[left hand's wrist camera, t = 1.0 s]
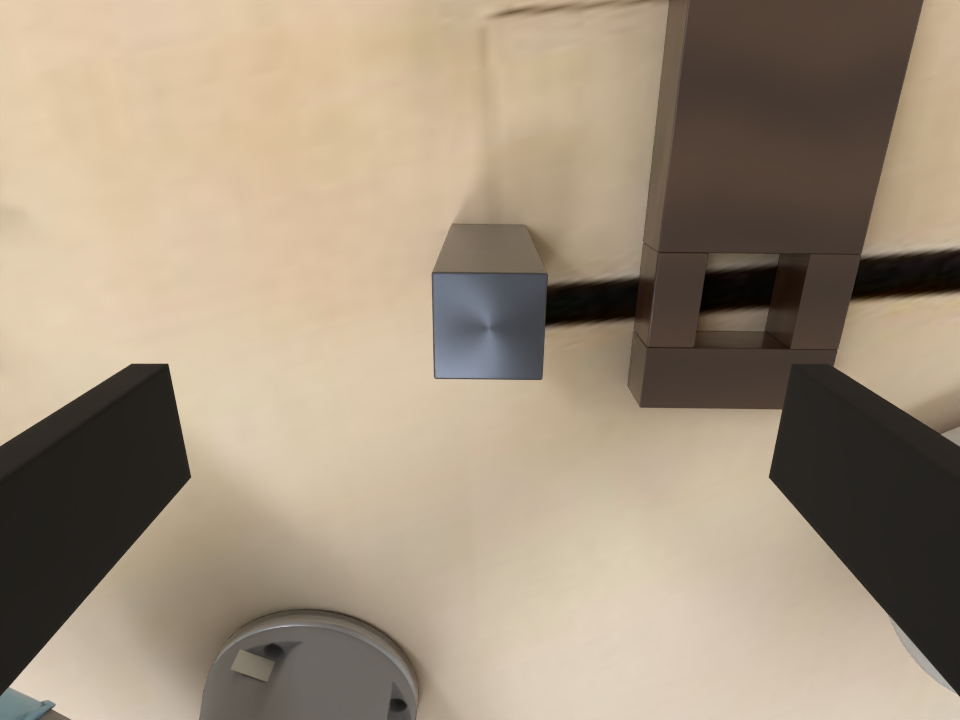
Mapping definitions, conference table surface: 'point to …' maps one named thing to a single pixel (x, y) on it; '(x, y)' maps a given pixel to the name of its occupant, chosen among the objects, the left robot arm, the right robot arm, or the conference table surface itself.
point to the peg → (488, 304)
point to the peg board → (762, 185)
